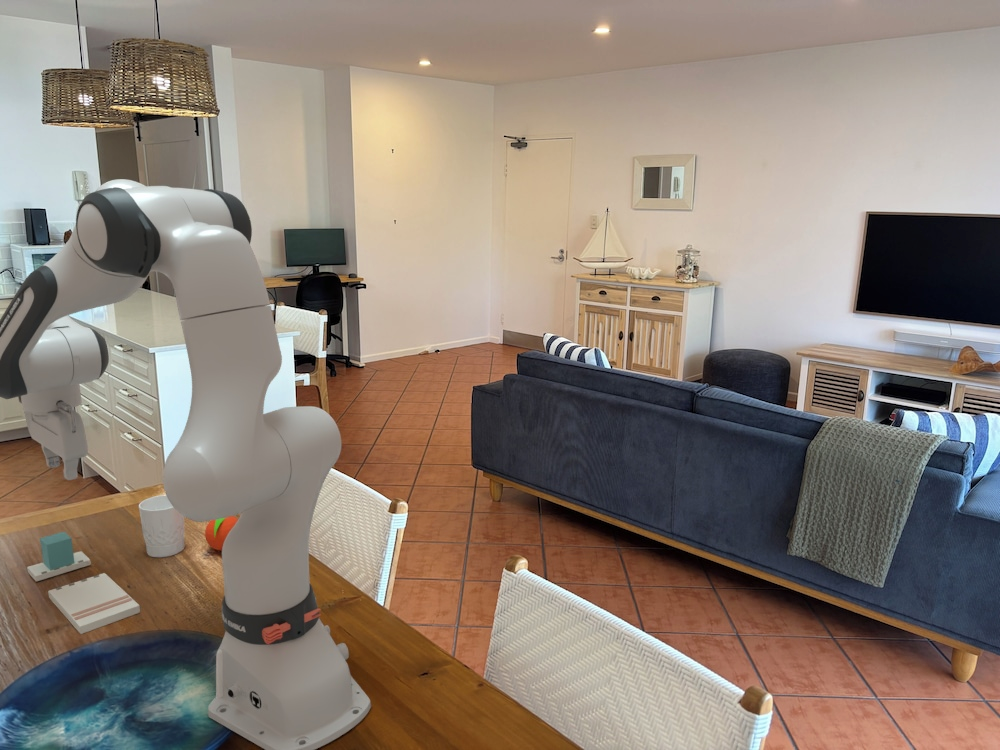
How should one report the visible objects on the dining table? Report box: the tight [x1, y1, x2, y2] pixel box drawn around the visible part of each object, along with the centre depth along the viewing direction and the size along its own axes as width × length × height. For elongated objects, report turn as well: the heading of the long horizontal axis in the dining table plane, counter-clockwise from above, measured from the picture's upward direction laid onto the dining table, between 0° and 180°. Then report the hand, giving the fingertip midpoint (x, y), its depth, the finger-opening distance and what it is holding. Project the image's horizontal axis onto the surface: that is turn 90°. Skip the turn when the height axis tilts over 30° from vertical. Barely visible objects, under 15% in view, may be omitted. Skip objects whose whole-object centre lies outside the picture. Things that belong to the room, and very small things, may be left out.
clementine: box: [204, 516, 239, 552], centre depth 143 cm, size 8×7×7 cm
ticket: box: [47, 572, 141, 635], centre depth 124 cm, size 16×9×1 cm, turn 47°
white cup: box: [138, 494, 186, 559], centre depth 143 cm, size 8×8×10 cm
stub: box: [26, 531, 92, 582], centre depth 135 cm, size 5×9×6 cm, turn 137°
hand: (62, 472), depth 130 cm, fingers open, 8 cm apart
